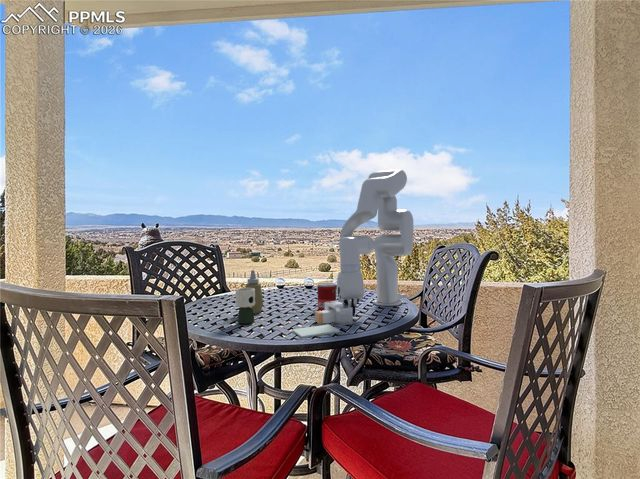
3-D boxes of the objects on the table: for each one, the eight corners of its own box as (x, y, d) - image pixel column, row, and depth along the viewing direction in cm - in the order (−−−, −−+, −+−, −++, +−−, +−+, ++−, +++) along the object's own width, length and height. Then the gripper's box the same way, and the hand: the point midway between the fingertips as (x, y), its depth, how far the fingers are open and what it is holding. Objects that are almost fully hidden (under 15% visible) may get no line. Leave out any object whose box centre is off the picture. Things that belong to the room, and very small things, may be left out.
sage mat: (328, 326, 140) (328, 324, 140) (340, 332, 132) (339, 330, 132) (292, 331, 134) (292, 329, 134) (301, 337, 126) (301, 336, 126)
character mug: (250, 327, 141) (249, 291, 140) (231, 326, 142) (230, 291, 141) (259, 319, 151) (258, 286, 151) (242, 319, 152) (241, 286, 152)
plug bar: (343, 318, 151) (343, 308, 151) (348, 320, 147) (348, 310, 147) (315, 321, 146) (314, 311, 146) (319, 324, 143) (318, 313, 143)
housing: (336, 315, 155) (335, 300, 155) (352, 323, 142) (352, 307, 142) (324, 317, 153) (324, 302, 153) (340, 325, 140) (340, 308, 140)
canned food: (336, 311, 164) (336, 285, 163) (317, 311, 164) (317, 285, 163) (336, 307, 171) (335, 282, 171) (318, 307, 172) (317, 282, 171)
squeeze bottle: (265, 310, 168) (264, 269, 167) (261, 314, 159) (259, 271, 159) (247, 310, 168) (246, 269, 168) (241, 314, 160) (240, 271, 160)
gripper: (362, 266, 155) (363, 311, 156) (328, 269, 149) (329, 316, 150) (372, 268, 149) (372, 315, 149) (337, 271, 142) (338, 320, 143)
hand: (351, 315), depth 150 cm, fingers closed
